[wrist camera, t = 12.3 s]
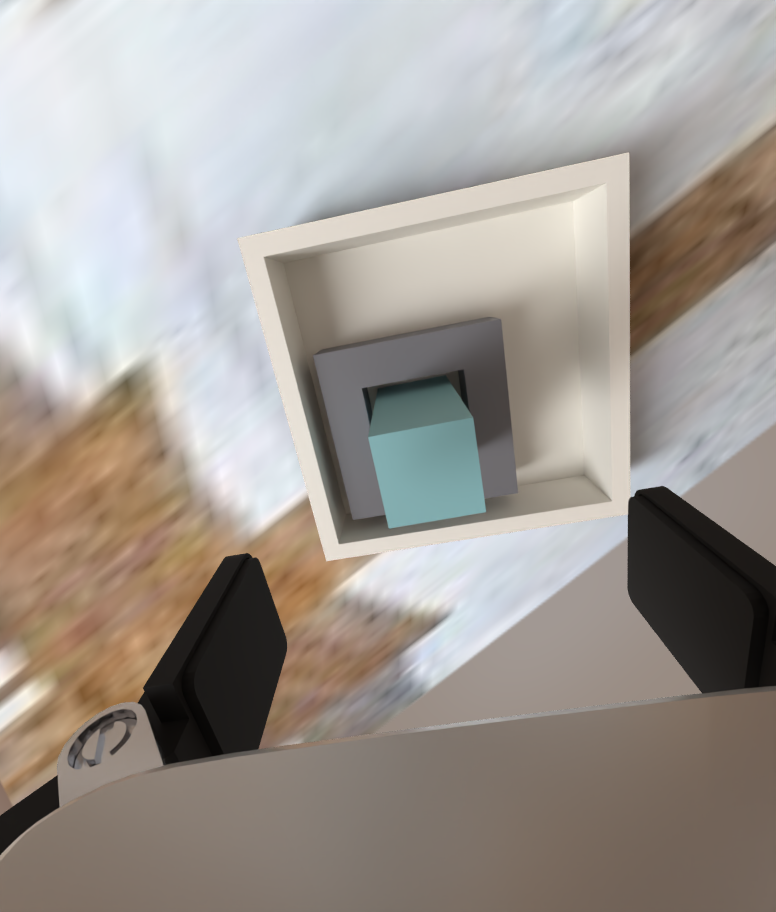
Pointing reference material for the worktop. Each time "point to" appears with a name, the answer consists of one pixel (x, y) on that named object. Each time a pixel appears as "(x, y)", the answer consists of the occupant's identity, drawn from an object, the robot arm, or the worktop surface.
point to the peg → (425, 453)
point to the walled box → (460, 346)
